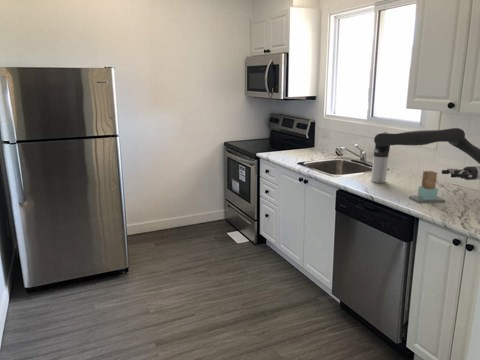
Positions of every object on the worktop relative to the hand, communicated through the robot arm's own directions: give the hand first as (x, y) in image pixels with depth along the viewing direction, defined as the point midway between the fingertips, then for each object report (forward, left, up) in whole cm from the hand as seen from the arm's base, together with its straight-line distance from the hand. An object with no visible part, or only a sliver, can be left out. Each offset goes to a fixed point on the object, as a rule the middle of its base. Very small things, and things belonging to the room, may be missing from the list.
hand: (446, 173), depth 216 cm
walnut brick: (0, -10, -8) cm, 12 cm away
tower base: (0, -10, -15) cm, 18 cm away
